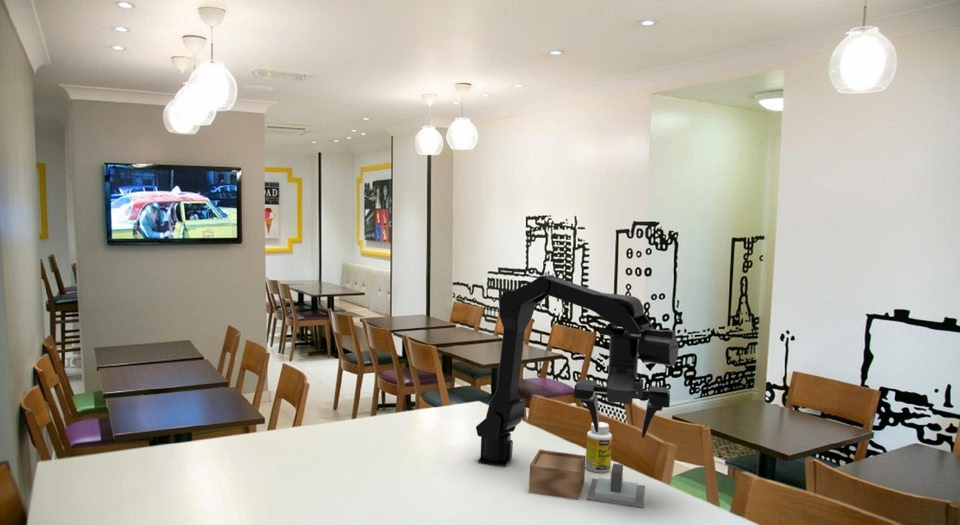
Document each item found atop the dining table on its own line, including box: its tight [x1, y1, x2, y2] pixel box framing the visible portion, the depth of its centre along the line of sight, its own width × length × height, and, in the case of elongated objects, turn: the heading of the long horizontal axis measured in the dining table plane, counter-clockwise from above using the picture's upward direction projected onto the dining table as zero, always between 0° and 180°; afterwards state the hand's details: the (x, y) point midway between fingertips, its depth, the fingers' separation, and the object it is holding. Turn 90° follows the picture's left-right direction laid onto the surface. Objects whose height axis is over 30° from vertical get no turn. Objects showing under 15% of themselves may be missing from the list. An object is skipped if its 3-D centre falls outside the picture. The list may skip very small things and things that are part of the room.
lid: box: [594, 463, 638, 503], centre depth 134 cm, size 8×8×5 cm
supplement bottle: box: [585, 421, 613, 474], centre depth 147 cm, size 6×6×10 cm
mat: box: [585, 478, 646, 509], centre depth 134 cm, size 11×11×1 cm
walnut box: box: [528, 449, 586, 500], centre depth 136 cm, size 10×10×6 cm
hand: (619, 434), depth 133 cm, fingers open, 9 cm apart
